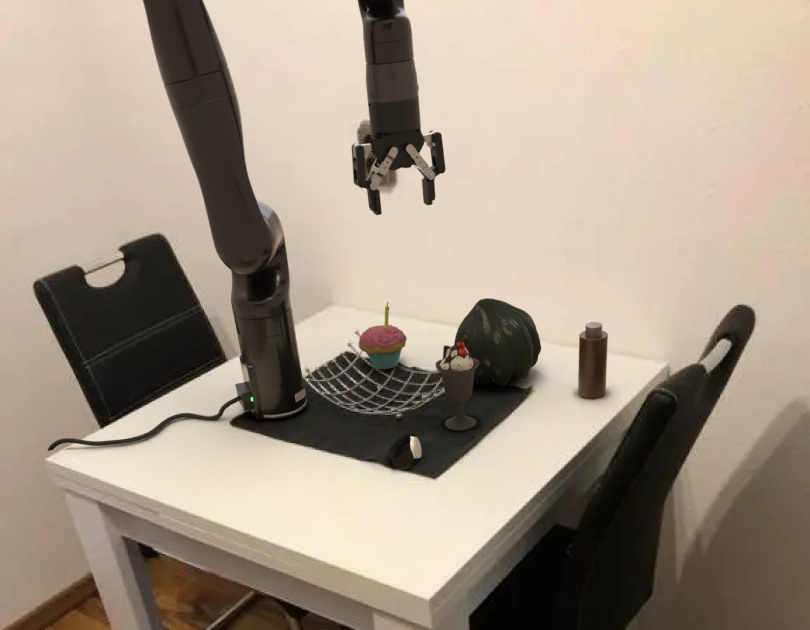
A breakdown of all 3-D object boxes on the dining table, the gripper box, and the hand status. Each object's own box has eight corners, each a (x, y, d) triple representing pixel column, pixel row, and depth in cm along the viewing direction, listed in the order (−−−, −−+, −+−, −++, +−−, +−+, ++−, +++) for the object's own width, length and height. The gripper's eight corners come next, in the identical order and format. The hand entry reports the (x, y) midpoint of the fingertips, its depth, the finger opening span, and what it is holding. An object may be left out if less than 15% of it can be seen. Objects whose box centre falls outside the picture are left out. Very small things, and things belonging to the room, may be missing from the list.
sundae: (479, 433, 139) (475, 340, 131) (436, 432, 141) (429, 340, 133) (484, 414, 145) (481, 324, 136) (443, 414, 146) (437, 324, 138)
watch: (415, 471, 131) (413, 449, 129) (384, 470, 132) (381, 448, 130) (426, 446, 137) (424, 424, 135) (396, 445, 138) (393, 423, 136)
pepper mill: (586, 401, 146) (589, 332, 139) (572, 391, 149) (574, 323, 143) (610, 394, 147) (613, 326, 140) (596, 385, 150) (598, 317, 144)
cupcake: (416, 359, 166) (411, 295, 159) (391, 376, 160) (385, 311, 154) (378, 352, 170) (371, 289, 164) (352, 369, 164) (344, 305, 158)
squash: (557, 329, 158) (498, 267, 153) (554, 367, 146) (490, 301, 141) (498, 379, 165) (440, 322, 161) (490, 419, 153) (427, 358, 149)
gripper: (428, 86, 138) (435, 196, 147) (339, 99, 134) (352, 212, 143) (447, 90, 132) (454, 206, 141) (354, 105, 128) (367, 222, 137)
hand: (402, 209), depth 142 cm, fingers open, 8 cm apart
